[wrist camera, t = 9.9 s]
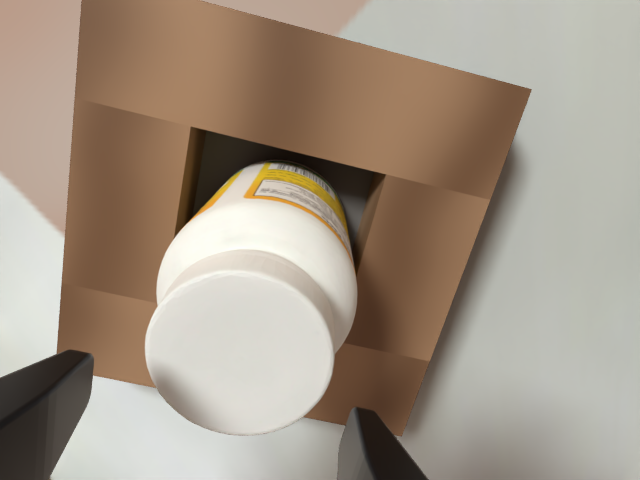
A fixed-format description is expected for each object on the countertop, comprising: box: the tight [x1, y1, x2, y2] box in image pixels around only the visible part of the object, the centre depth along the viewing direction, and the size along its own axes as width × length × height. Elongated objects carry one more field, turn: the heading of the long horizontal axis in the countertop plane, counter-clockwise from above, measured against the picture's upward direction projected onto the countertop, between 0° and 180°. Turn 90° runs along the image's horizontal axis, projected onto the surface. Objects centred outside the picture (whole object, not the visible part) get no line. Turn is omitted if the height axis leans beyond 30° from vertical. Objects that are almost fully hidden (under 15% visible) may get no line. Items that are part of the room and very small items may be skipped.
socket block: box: [57, 0, 532, 436], centre depth 18 cm, size 14×14×4 cm
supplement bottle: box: [145, 160, 357, 436], centre depth 14 cm, size 5×5×10 cm
